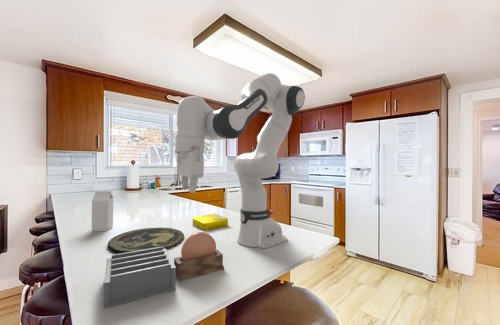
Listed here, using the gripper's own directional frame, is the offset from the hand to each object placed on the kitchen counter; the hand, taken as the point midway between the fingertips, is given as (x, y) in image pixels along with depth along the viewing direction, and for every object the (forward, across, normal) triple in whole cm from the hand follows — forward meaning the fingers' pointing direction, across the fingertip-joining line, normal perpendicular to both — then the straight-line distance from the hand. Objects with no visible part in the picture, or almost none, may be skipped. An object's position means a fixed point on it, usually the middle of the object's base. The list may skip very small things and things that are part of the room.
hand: (188, 190), depth 71 cm
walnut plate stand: (+25, 0, -4) cm, 26 cm away
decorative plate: (+26, +35, +8) cm, 44 cm away
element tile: (+24, +46, -23) cm, 57 cm away
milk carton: (+25, +62, +27) cm, 73 cm away
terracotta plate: (+19, -1, -4) cm, 19 cm away
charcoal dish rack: (+26, -1, +13) cm, 29 cm away
